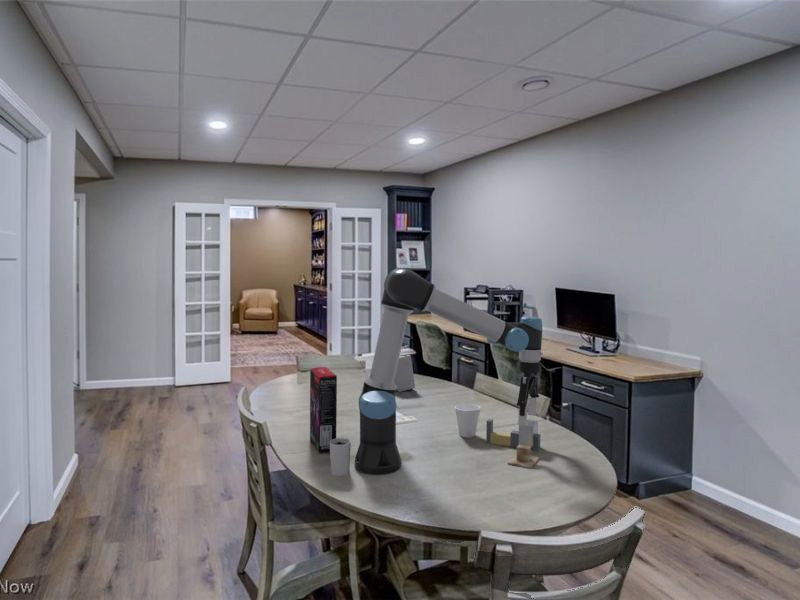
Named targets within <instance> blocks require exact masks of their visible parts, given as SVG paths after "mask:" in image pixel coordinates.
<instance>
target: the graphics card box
mask: <svg viewBox="0 0 800 600" xmlns="http://www.w3.org/2000/svg"><path fill="white" fill-rule="evenodd" d="M309 370H310V371H309V379H310V380H309V381H310V382H309V389H310V390H309V441H310V442H311V443H312V445H313V447H314V448H315V449H316V451H317V452H318V454H324V453H330V440H332V439H336V438H337V420H338V419H337V414H338V412H337V409H338V408H337V407H338V405H337V404H338V403H337V400H338V398H337V397H338V396H337V394H338V391H337V388H338V387H337V384H338V376H337V375H336V374H335V372H333V371H331V370H330V369H329V368H328V367H327V366H317V367H313V368H310V369H309Z"/></svg>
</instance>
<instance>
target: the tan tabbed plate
mask: <svg viewBox="0 0 800 600" xmlns="http://www.w3.org/2000/svg"><path fill="white" fill-rule="evenodd" d="M531 453H532V450H531V446H526V445H520V444H519V445H518V446H517V447H516V452H515V453H514V454H513V456H512V457H511V458H510V459H509V461H508V462H507V465H509V466H514V467H516V466H517V467H521V468H526V469H533V468H534V467H535V465H536V463H537V462H538V461H539V459H540V456H536V455H532V454H531Z"/></svg>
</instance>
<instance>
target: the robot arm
mask: <svg viewBox="0 0 800 600" xmlns="http://www.w3.org/2000/svg"><path fill="white" fill-rule="evenodd" d="M383 288H384V289H383V294H382V298H381V302H380V305H381V307H382V308H383V314H382V319H381V324H380V328H379V332H378V337H377V342H376V347H375V351H374V356H373V360H372V366H371V369H370V373H369V376H368V377H367V378H366V379H364V380H363V386H362V390H361V393H360V394H359V395H360V396H359V398H358V408H359V444H358V448H357V451H356V454H355V457H354V469H355V470H356V471H358V472H359V473H361V474H367V475H374V476H375V475H376V476H377V475H378V476H379V475H388V474H393V473H395V472H397V471H399V470H400V469H401V468H402V457H401V454H400V452H399V448H398V446H397V412H396V411H397V401H396V400H397V399H396V394H397V391H396V390H397V386H396V385H395V383H394V379H395V374H396V370H397V365H398V361H399V356H400V352H401V351H402V346H403V342H404V337H405V333H406V332H405V331H406V329H407V325H408V324H407V323H408V320H409V316H410V314H412V313H413V312H414V311H415V310H418V311H420V312H421V313H422V312H425V311H427V312H429V313H432V314H434V315H435V316H438V317H440V318H442V319H445V320H446V321H448V322H451V323H453V324H455V325H458V326H459V327H462V328H464V329H466V330H469V331H470V332H471V333H474V334H476V335H479V336H481V337H483V338H486V339H485V340H486V342H487V343H488V344H491V345H493V344H494V345H501V346H502V347H504V348H507V350H509V351H512V352H517V353H518V359H519V361H518V371H519V372H521V373H523V376H521V377H520V384H519V385H520V386H519V391H518V398H517V403H516V406H517V407H518V422H517V423H518V425H519V424H520V425H527V420H528V416H533V417H536V416H537V401H538V400H537V399H538V398H539V397H540V394H539V386H538V374H539V373H541V366H542V365H541V364H542V363H541V362H540V361H542V356H543V352H542V340H543V332H544V331H543V319H542V318H540V317H538V316H537V317H536V316H522V317H520V320H519V322H507V321H505V320H502V319H501V318H498V317H496V316H494V315H492V314H490V313H488V312H486V311H484V310H482V309H480V308H478V307H475V306H473V305H472V304H469V303H467V302H465V301H463V300H460V299H459V298H456V297H453V296H452V295H450V294H448V293H446V292H443V291H442V290H439V289H437V287H436V285H435V283H434V284H433V283H432V282H430V281H428V280H426V279H425V278H423V277H422V276H420V275H419V274H418V273H416V272H415V271H413V270H411V269H407V268H401V267H399V268H396V269H393V270H392V271H391V272H389V273H388V274H387V275H386V277H385V279H384V282H383Z"/></svg>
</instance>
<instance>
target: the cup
mask: <svg viewBox="0 0 800 600" xmlns="http://www.w3.org/2000/svg"><path fill="white" fill-rule="evenodd" d="M454 410H455V416H456V422H457V427H458V428H457V429H458V434H459V436H460V437H462V438H466V439H467V438H469V439H470V438H474V437H475V436H476V434H477V427H478V424H479V423H478V422H479V418H480V417H479V416H480V411H481V410H482V407H481V406H480V405H477V404H473V403H460V404H457V405H455V406H454Z"/></svg>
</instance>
